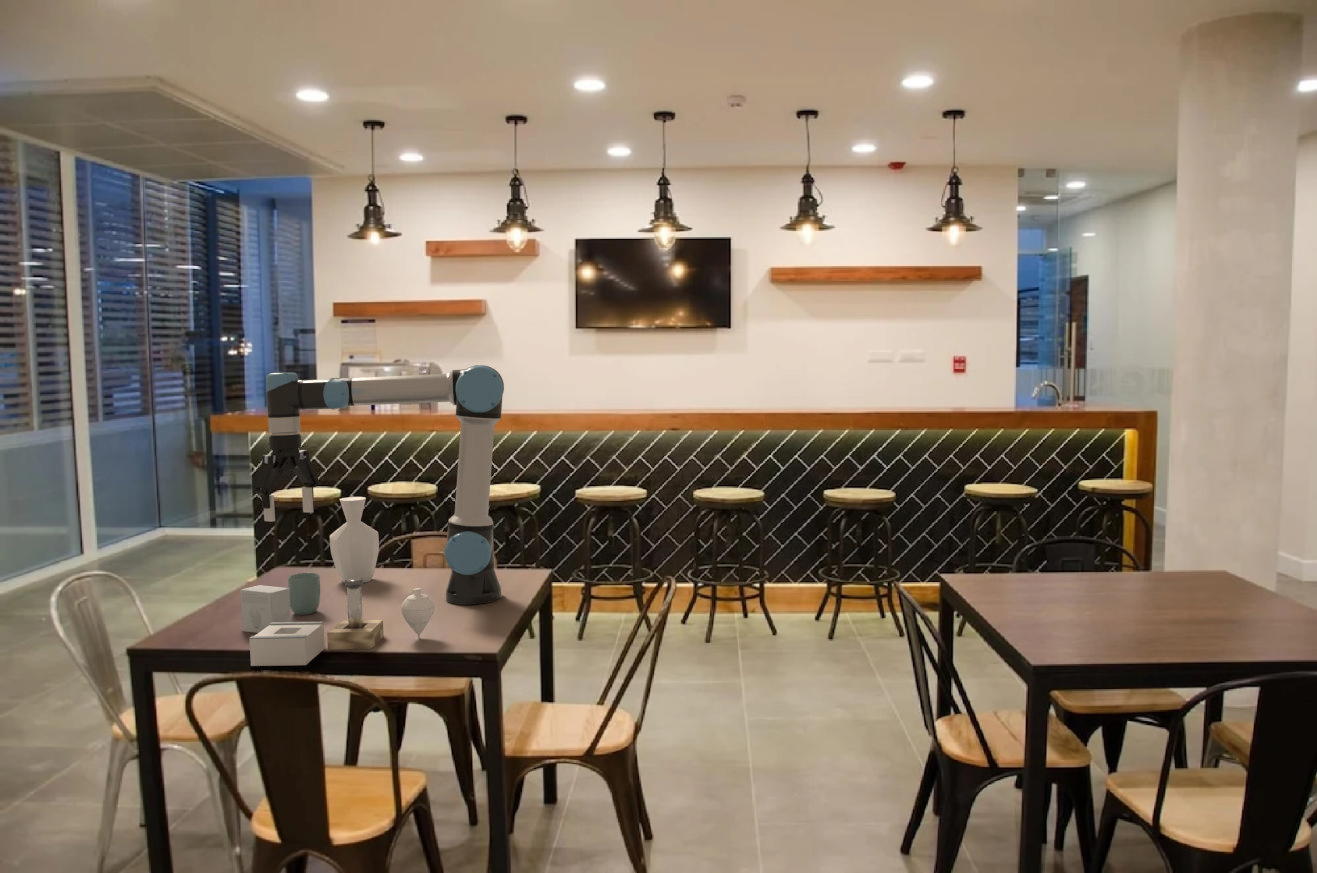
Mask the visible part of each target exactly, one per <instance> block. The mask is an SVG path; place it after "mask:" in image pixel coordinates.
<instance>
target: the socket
mask: <svg viewBox="0 0 1317 873" xmlns="http://www.w3.org/2000/svg"><path fill="white" fill-rule="evenodd" d="M325 641H326V639H325V622H324V621H291V622H272V623H270V625H269V626H268V627H266V628H265V629H263V630H262V631H260V632H259V633H255V635H251V636H250V637H249V651H250V652H249V654H250V655H249V656H250V667H260V666H261V667H262V666H264V667H265V666H266V667H267V666H268V667H272V666H273V667H274V666H275V667H276V666H307V665H308V664H309V663H310V662H311V661H312V660H313V659H314V658H316V657H317V656H318V655H319V654H320V653H322V652H323V651H324V650H325V649H326V643H325Z"/></svg>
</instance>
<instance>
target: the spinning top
mask: <svg viewBox="0 0 1317 873" xmlns="http://www.w3.org/2000/svg"><path fill="white" fill-rule="evenodd" d="M412 592H413V593H412V594H410V595H409V596H407V597H406V599H404V601H403V602H402V605H401V606H400V607H401V608H400V610H401V611H400V612H401V614H402V617H403V618H404V620H405V622H406V623H407V624H408V626H409V627H410V629H412V630H413V632H414V633H415V634H417V639H420V638H421V637H420V636H421V635H422V634H421V633H423V631H424V630H425V628H426V627H427V626H428V624H429V622H430V621H431V620H432V617H433V615H434V612H435V604H434V603H435V602H434V601H433V600H432V599H431V598H430V596H429V595H427V594H425V593H424V594H423V593H422V588H421V587H416V588H413V589H412Z"/></svg>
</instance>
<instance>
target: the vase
mask: <svg viewBox="0 0 1317 873" xmlns="http://www.w3.org/2000/svg"><path fill="white" fill-rule="evenodd" d="M366 499H367V498H366V497H363V496H350V497H342V498H339V501H340V505H341V508H342V511H343V514H344V516H345V520H346V522H345V523H343V524H342V525H341V526H340V527H338V528H337V529H336V530H334V531H333V532H332V533H331V534H329V544H330V545H329V547H330V554H331V557H332V561H333V564H334V567H335V569H336V572H337V574H338V575H339V577H340V579H341V581H342V583H344V584H345V580H347V579H351V578H361V579H363V584H364V583H368V582H370V581H371V580H372V579H373V577H374V574H375V572H376V564H377V562H378V556H379V553H380V549H379V548H380V545H379V544H380V543H379V542H380V541H379V539H380V538H379V531H377V530H376V529H374V528H373V527H371V526H369V525H367V524H366V523H364V522H363V521H361V520H362V516H363V511H364V507H365V504H366Z"/></svg>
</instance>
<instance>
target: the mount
mask: <svg viewBox="0 0 1317 873" xmlns="http://www.w3.org/2000/svg"><path fill="white" fill-rule="evenodd" d="M384 633H385V632H384V619H363V629H349V626H348V619H347V620H346V619H345V620H344V619H343V620H341V619H340V621H339V622H338V623H336V624H335V625H334V626H333V627H332V628H330V630H328V631H327V632H326V635H327V636H326V637H327V638H326V641H327V642H326V643H327V650H370V649H371V648H372V647H373V648H374V647H375V646H376V645H377V644H378V643H379V641H380V640H382V638H384V636H385V634H384ZM373 648H372V649H373Z"/></svg>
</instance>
